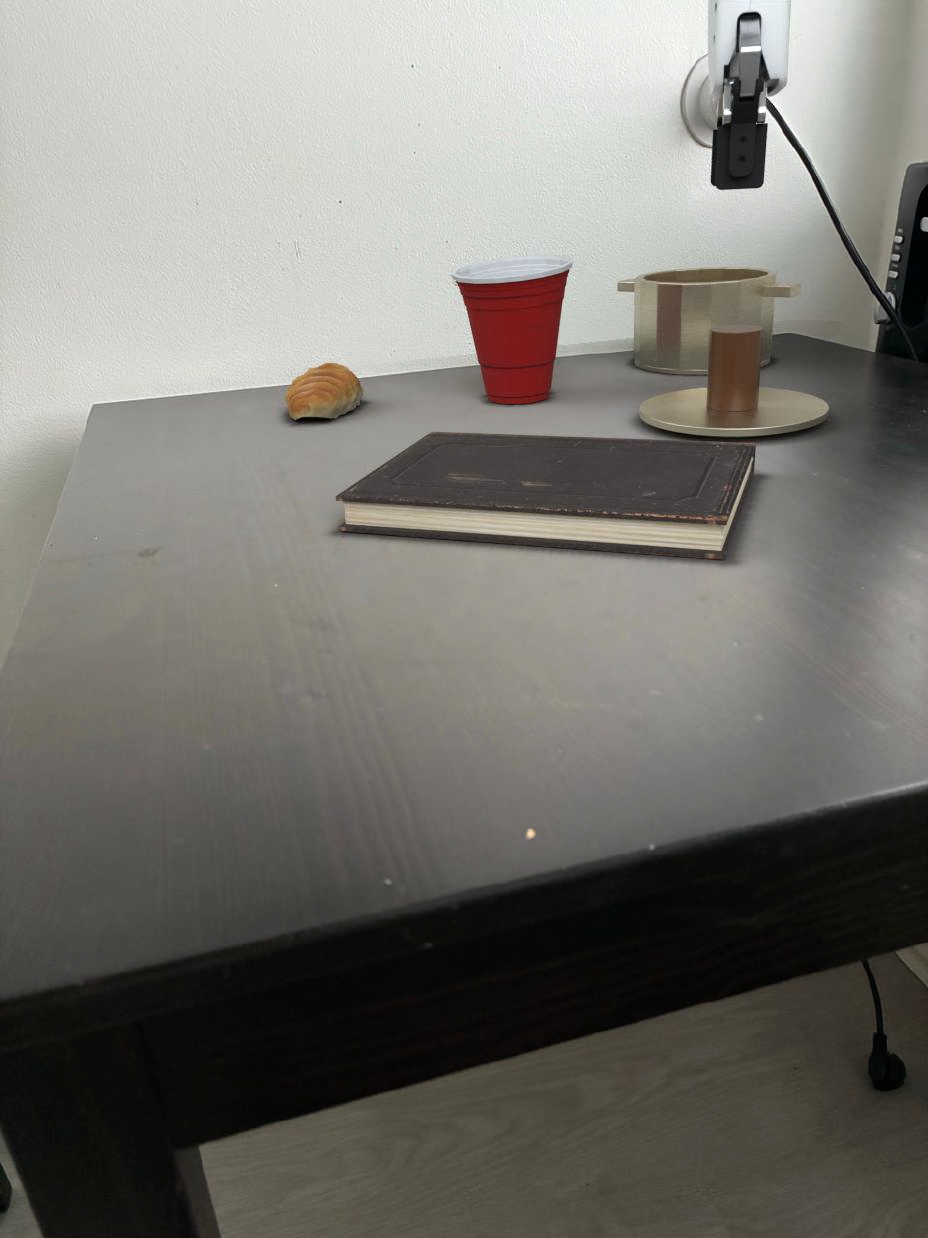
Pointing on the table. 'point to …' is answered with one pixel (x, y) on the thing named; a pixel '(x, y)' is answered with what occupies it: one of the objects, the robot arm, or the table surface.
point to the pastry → (324, 392)
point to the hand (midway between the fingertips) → (735, 186)
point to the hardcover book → (559, 492)
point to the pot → (699, 313)
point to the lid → (734, 395)
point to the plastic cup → (515, 322)
